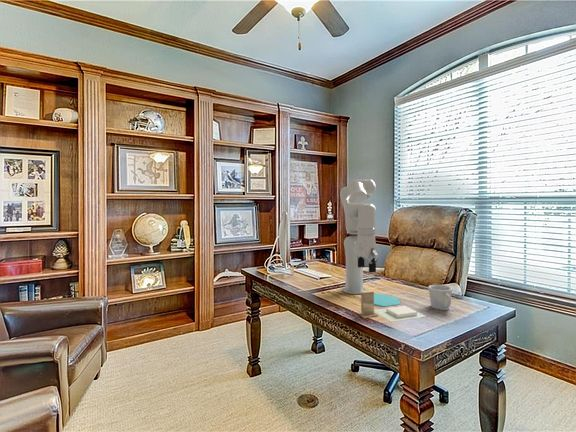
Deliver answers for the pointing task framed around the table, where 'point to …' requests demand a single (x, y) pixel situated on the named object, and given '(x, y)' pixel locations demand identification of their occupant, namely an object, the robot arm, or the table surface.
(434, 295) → the mug
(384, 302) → the plaque
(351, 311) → the table surface
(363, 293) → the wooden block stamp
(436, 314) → the table surface
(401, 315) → the tile
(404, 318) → the board
